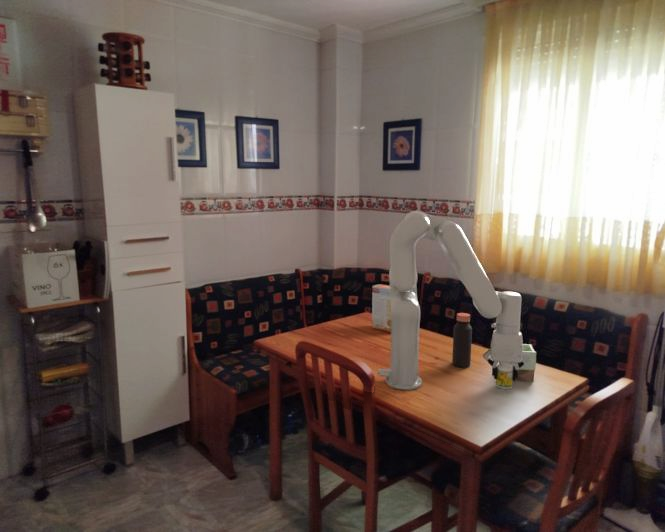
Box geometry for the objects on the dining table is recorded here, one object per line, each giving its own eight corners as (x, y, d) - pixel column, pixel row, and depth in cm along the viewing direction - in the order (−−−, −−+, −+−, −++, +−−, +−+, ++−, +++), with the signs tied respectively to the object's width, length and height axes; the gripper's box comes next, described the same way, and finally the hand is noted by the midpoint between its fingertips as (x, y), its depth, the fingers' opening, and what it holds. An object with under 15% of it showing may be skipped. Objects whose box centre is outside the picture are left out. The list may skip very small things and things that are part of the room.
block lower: (506, 380, 175) (507, 368, 174) (504, 370, 183) (504, 359, 183) (533, 382, 173) (534, 370, 172) (529, 372, 181) (530, 361, 181)
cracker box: (402, 331, 229) (403, 287, 225) (395, 334, 224) (396, 290, 220) (379, 325, 238) (379, 283, 234) (371, 327, 234) (371, 285, 230)
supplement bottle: (515, 387, 168) (517, 361, 166) (503, 390, 166) (505, 363, 164) (504, 381, 173) (505, 356, 171) (492, 384, 170) (493, 358, 169)
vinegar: (470, 368, 185) (473, 317, 181) (452, 367, 186) (454, 316, 182) (469, 361, 191) (472, 312, 187) (451, 360, 192) (454, 311, 189)
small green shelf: (508, 368, 174) (509, 351, 173) (504, 359, 183) (505, 342, 181) (535, 370, 172) (536, 352, 171) (530, 360, 181) (531, 344, 180)
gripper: (481, 329, 164) (479, 380, 167) (536, 333, 160) (532, 385, 163) (480, 323, 171) (477, 372, 174) (532, 326, 167) (529, 376, 170)
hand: (504, 378), depth 168 cm, fingers closed on supplement bottle, 5 cm apart
